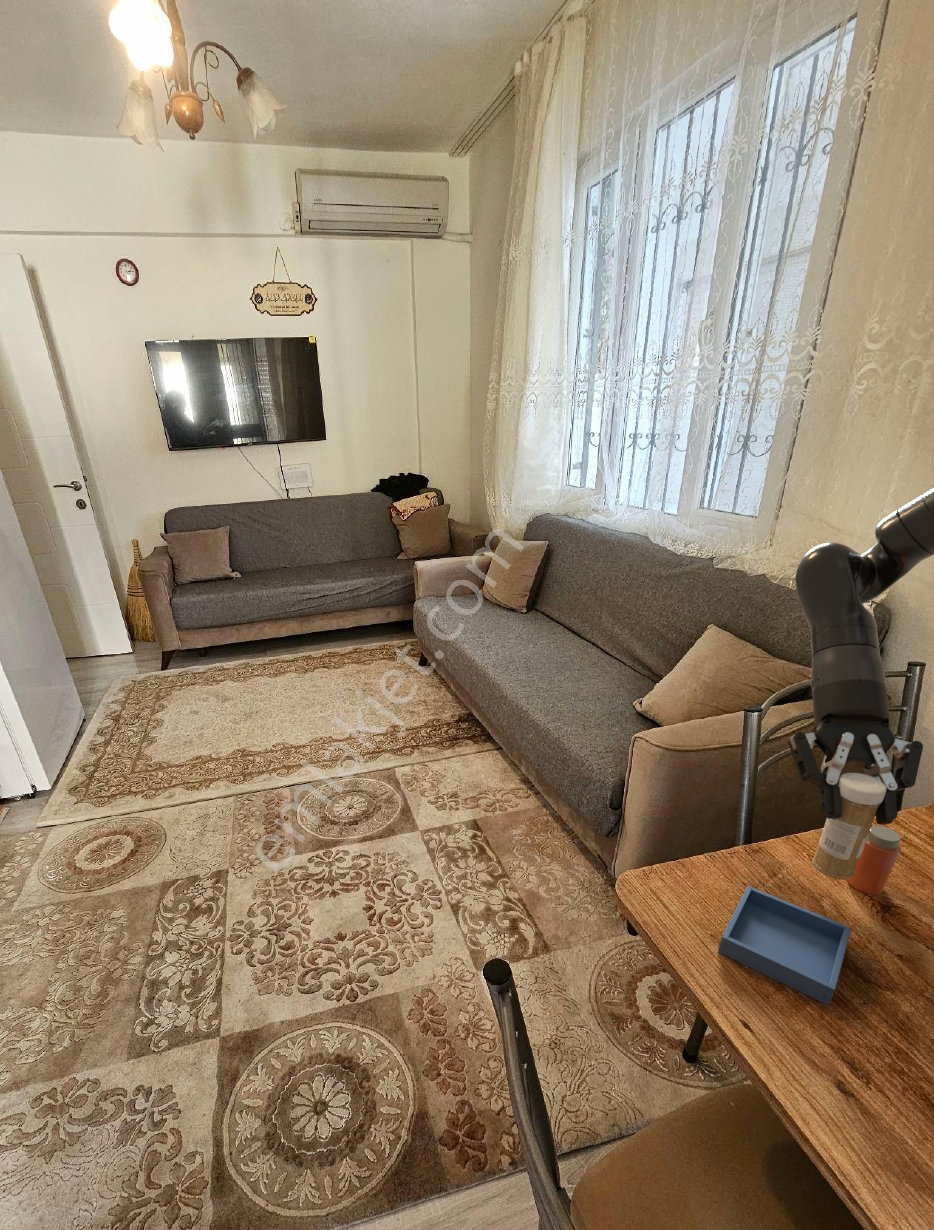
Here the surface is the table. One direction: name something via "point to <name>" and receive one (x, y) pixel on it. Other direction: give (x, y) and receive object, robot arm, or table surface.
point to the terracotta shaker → (876, 860)
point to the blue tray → (786, 943)
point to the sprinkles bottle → (849, 826)
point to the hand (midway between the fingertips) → (859, 820)
